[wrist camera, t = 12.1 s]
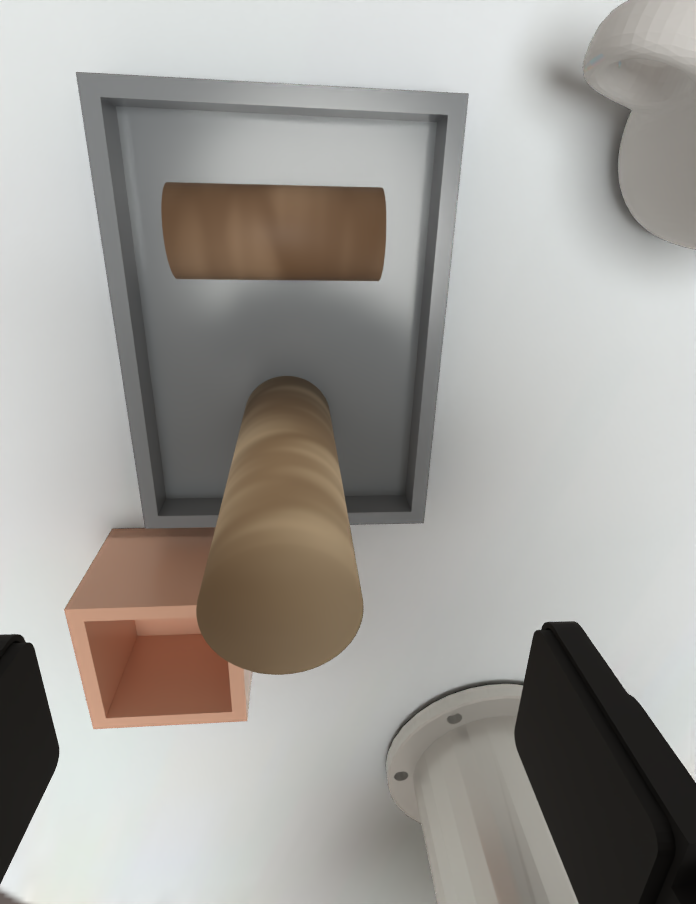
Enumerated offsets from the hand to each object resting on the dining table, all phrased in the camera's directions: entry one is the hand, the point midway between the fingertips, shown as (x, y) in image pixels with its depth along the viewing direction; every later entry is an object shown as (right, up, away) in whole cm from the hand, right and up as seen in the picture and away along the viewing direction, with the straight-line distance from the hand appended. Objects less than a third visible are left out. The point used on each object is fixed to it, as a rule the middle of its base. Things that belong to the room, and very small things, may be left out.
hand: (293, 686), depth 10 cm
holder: (-7, -2, +16) cm, 18 cm away
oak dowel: (-1, +6, +12) cm, 14 cm away
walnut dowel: (-1, +13, +8) cm, 16 cm away
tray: (-1, +9, +11) cm, 15 cm away
